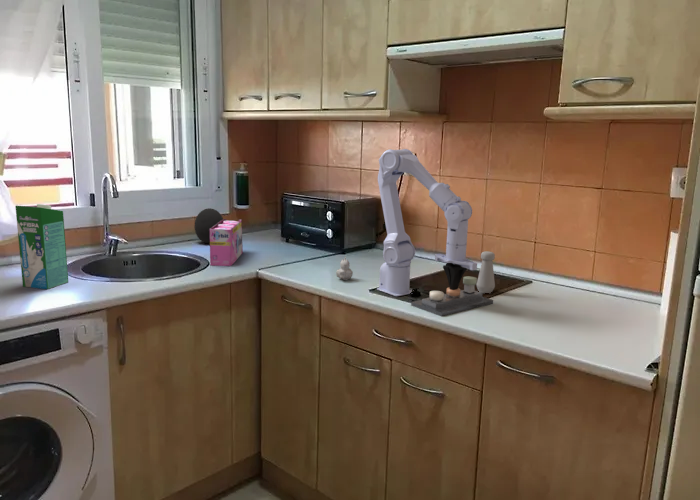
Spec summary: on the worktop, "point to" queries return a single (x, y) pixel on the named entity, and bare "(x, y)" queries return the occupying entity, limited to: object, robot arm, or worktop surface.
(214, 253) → the gum box
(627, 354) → the worktop surface
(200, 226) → the decorative egg
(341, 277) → the beige lumpy figurine
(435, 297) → the cream knob
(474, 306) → the switch panel
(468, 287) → the sage knob
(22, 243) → the milk carton
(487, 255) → the salt shaker
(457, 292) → the terracotta knob
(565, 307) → the worktop surface
